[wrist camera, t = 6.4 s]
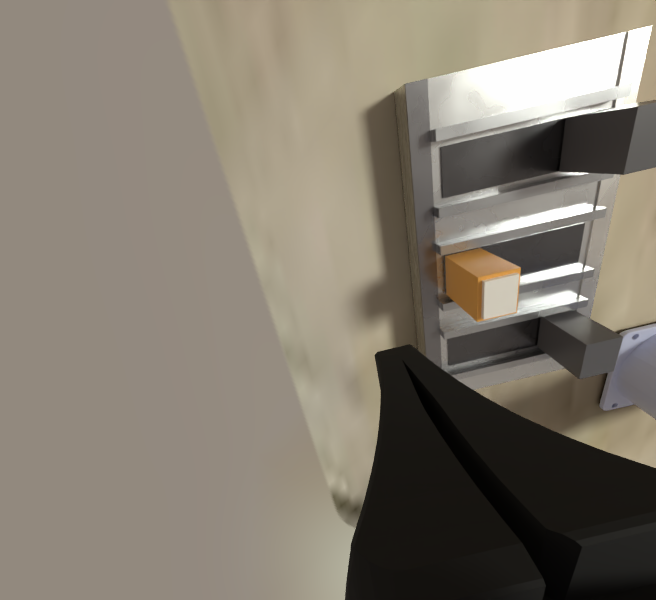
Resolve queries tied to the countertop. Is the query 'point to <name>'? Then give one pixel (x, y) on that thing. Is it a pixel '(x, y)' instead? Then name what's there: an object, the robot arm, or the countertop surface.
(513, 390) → the countertop surface
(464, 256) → the block
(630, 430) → the countertop surface
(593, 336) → the block
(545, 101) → the panel
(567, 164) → the breaker
